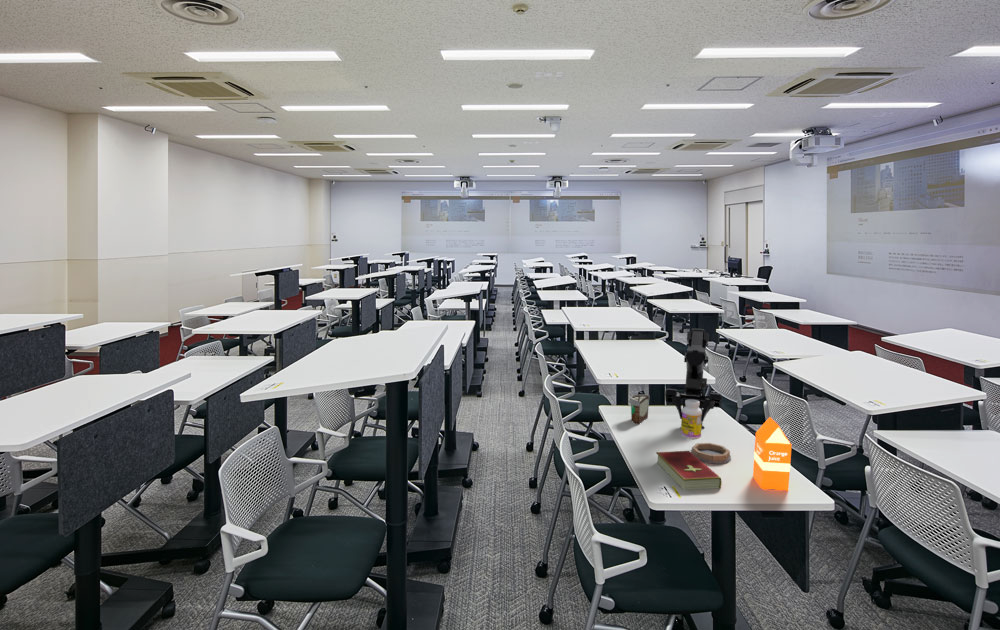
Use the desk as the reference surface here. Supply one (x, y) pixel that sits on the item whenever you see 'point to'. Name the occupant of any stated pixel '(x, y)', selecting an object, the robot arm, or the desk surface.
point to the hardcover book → (688, 470)
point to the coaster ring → (711, 453)
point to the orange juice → (772, 457)
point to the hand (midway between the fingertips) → (691, 419)
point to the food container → (639, 407)
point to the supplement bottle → (691, 420)
